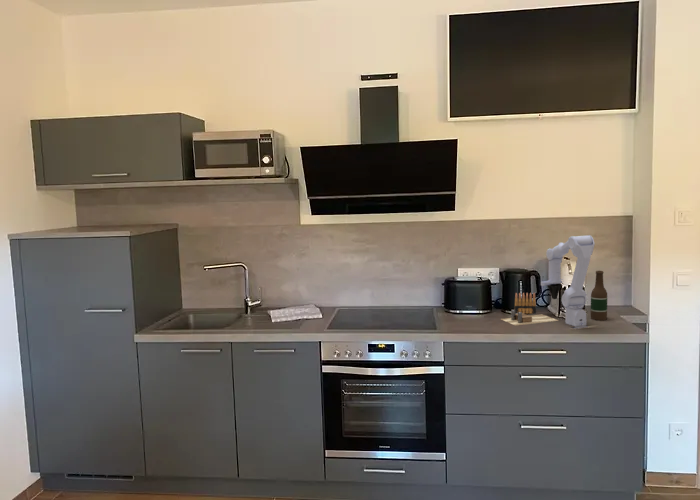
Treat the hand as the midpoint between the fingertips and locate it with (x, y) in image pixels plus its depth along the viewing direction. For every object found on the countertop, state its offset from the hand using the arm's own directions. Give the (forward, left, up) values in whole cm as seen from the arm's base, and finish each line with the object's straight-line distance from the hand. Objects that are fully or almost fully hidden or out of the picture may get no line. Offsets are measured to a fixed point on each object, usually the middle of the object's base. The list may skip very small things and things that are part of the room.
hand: (554, 298), depth 296 cm
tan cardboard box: (-4, +21, -8) cm, 22 cm away
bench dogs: (-4, +24, -9) cm, 26 cm away
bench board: (-4, +17, -9) cm, 20 cm away
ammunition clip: (+9, +11, -10) cm, 17 cm away
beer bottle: (-12, -17, -10) cm, 23 cm away
